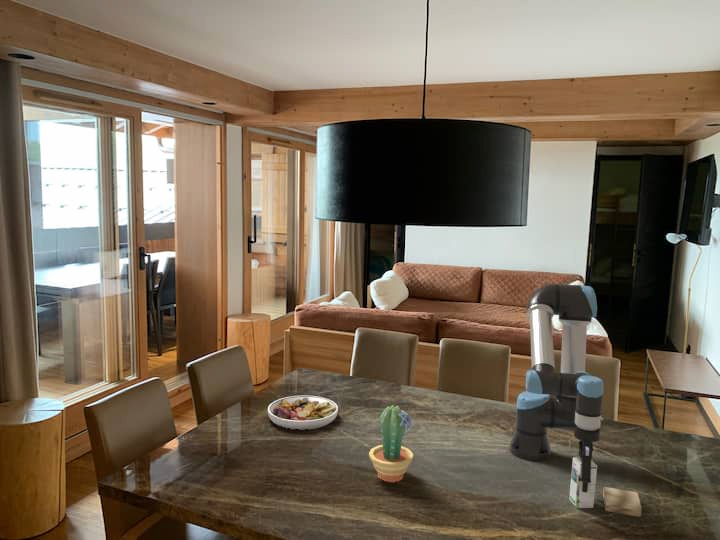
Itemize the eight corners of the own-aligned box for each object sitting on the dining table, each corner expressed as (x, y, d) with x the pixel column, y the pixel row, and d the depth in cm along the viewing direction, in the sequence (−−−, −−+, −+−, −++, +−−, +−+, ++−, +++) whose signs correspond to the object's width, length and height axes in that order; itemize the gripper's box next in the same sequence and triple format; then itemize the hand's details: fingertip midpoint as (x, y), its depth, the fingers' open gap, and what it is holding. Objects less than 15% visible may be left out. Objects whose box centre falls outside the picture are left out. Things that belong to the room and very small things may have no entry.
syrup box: (568, 499, 186) (571, 456, 184) (586, 498, 186) (589, 456, 185) (576, 508, 180) (579, 465, 178) (594, 508, 181) (598, 464, 179)
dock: (605, 511, 179) (606, 502, 179) (602, 495, 189) (603, 486, 188) (640, 517, 176) (641, 508, 176) (636, 501, 186) (637, 492, 185)
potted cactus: (384, 491, 188) (386, 418, 185) (359, 471, 201) (361, 403, 198) (421, 479, 196) (424, 409, 193) (395, 461, 209) (397, 395, 206)
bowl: (300, 401, 269) (300, 384, 268) (351, 416, 251) (352, 399, 250) (253, 420, 245) (253, 402, 244) (306, 439, 227) (306, 420, 226)
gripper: (603, 443, 167) (598, 512, 170) (597, 413, 191) (592, 474, 193) (576, 439, 169) (571, 507, 172) (573, 410, 193) (568, 470, 195)
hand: (582, 490), depth 183 cm, fingers open, 13 cm apart
